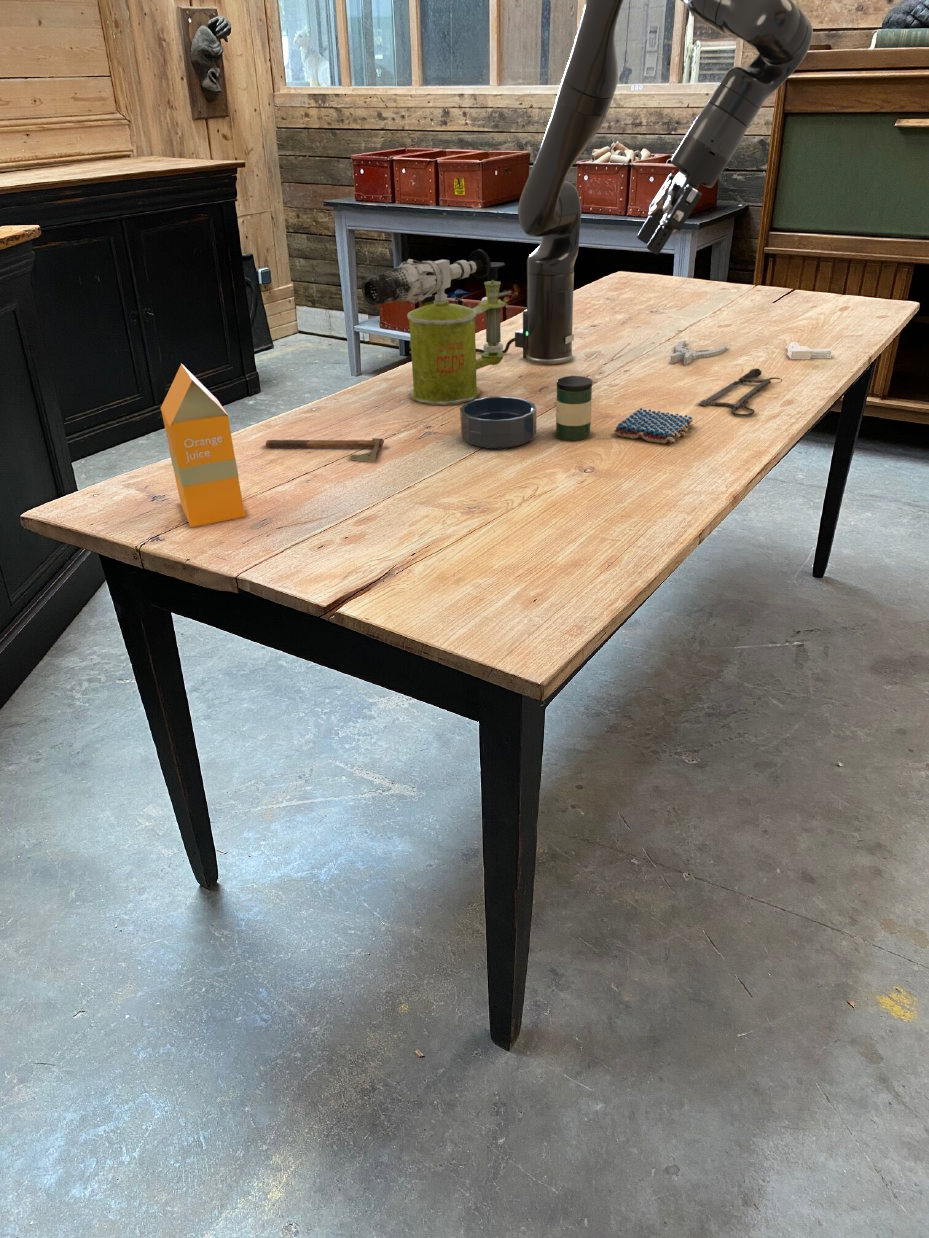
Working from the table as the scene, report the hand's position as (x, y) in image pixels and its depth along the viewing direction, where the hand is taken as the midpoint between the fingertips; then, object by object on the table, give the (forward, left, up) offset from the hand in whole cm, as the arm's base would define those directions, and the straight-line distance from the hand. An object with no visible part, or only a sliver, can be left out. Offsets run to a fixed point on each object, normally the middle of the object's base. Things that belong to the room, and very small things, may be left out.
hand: (646, 246), depth 147 cm
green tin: (-4, -14, -28) cm, 31 cm away
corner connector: (+9, +52, -28) cm, 60 cm away
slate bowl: (-13, -22, -28) cm, 37 cm away
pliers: (-10, +39, -28) cm, 49 cm away
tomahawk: (-33, -41, -28) cm, 59 cm away
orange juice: (-29, -68, -28) cm, 79 cm away
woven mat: (+6, -5, -28) cm, 29 cm away
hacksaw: (+11, +21, -28) cm, 37 cm away
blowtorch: (-36, -9, -28) cm, 46 cm away
